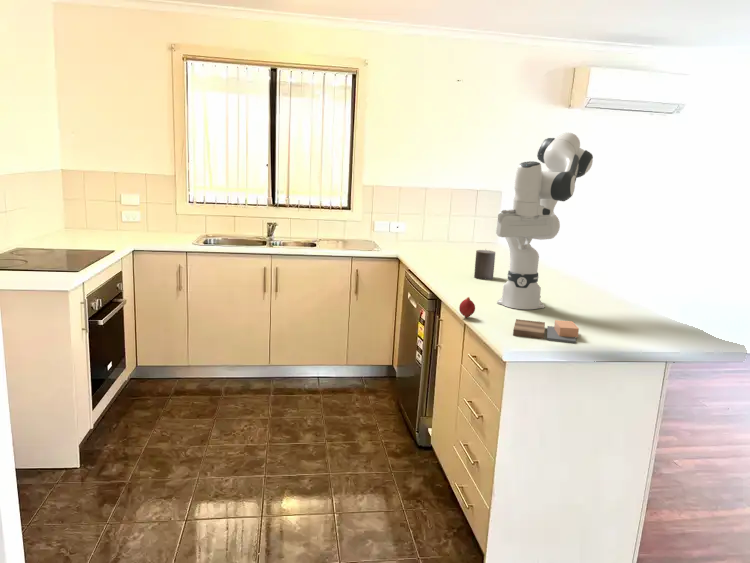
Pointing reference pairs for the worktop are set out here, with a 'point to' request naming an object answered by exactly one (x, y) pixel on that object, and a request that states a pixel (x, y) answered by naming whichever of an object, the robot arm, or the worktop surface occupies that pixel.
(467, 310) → the onion
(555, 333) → the mat
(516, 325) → the board
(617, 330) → the worktop surface
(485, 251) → the pillar candle
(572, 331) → the orange rectangular block
